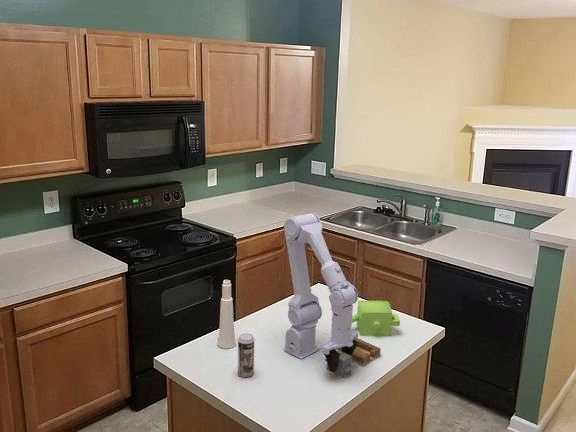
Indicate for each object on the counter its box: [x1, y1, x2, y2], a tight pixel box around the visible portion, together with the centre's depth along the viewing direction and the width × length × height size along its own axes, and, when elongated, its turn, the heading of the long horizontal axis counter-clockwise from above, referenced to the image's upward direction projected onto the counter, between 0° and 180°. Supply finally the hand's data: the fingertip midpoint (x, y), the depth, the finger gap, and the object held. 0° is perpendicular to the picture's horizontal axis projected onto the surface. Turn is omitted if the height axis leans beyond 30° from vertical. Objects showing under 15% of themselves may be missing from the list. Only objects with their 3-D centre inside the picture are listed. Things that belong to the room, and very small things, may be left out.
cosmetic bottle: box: [216, 279, 237, 350], centre depth 171 cm, size 6×6×22 cm
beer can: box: [237, 333, 256, 378], centre depth 157 cm, size 5×5×12 cm
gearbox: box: [352, 300, 401, 337], centre depth 185 cm, size 18×10×10 cm, turn 90°
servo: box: [324, 349, 355, 378], centre depth 160 cm, size 4×8×6 cm, turn 46°
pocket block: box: [336, 337, 382, 367], centre depth 171 cm, size 9×11×3 cm
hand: (338, 366), depth 161 cm, fingers open, 6 cm apart
